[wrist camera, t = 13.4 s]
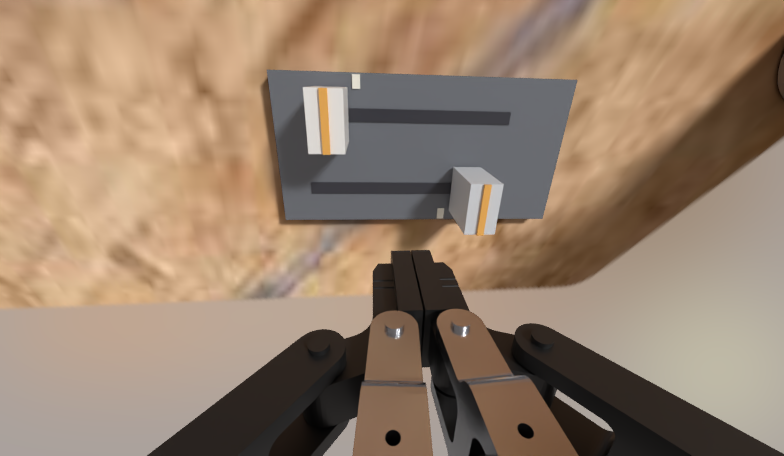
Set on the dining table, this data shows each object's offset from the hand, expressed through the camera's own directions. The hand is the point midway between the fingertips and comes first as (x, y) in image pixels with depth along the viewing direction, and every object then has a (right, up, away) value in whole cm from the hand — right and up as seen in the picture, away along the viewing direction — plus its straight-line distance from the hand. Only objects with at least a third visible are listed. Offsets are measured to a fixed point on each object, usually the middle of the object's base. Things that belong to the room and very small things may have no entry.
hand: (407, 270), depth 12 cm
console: (+2, +9, +15) cm, 18 cm away
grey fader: (+6, +5, +15) cm, 17 cm away
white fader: (-5, +10, +12) cm, 17 cm away
